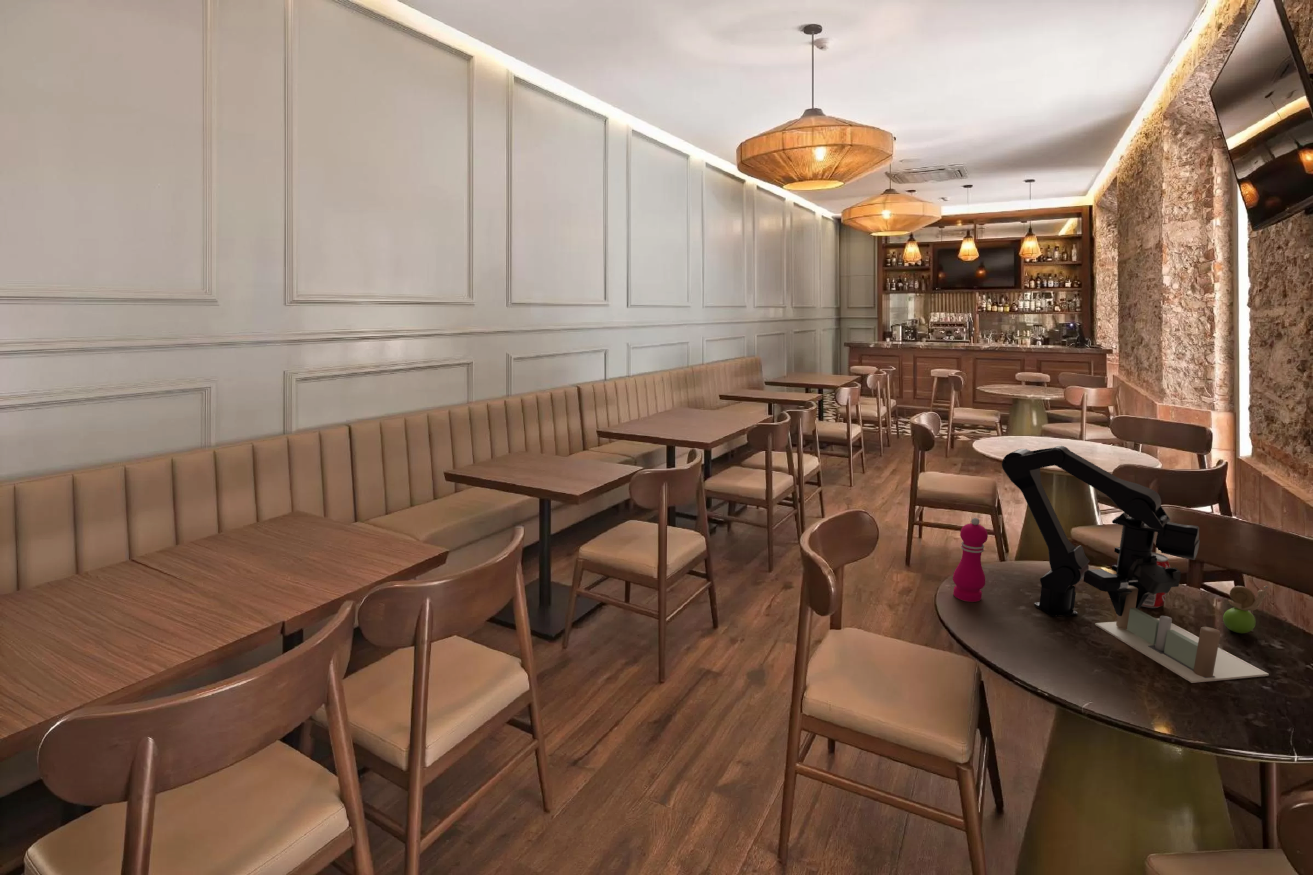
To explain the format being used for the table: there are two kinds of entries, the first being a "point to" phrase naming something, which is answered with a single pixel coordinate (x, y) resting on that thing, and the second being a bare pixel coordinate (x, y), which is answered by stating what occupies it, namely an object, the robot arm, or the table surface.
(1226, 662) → the card
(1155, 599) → the soda can
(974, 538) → the pepper mill
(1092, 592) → the table surface
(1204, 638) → the fence fixed
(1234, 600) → the snail figurine
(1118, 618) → the fence gate
